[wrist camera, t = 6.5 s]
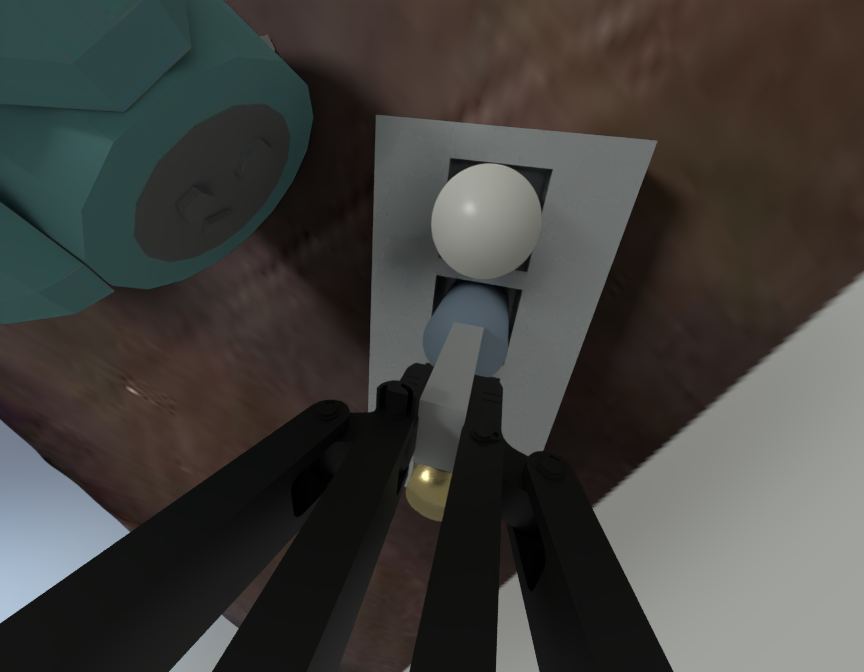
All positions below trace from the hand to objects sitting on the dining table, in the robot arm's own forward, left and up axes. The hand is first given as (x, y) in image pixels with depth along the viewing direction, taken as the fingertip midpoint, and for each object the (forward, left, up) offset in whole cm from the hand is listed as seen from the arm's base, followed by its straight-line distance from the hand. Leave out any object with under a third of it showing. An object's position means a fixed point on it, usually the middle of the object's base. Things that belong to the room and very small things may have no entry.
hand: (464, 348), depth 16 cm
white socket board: (0, -3, -8) cm, 9 cm away
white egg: (0, +6, -5) cm, 8 cm away
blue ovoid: (0, 0, -6) cm, 6 cm away
